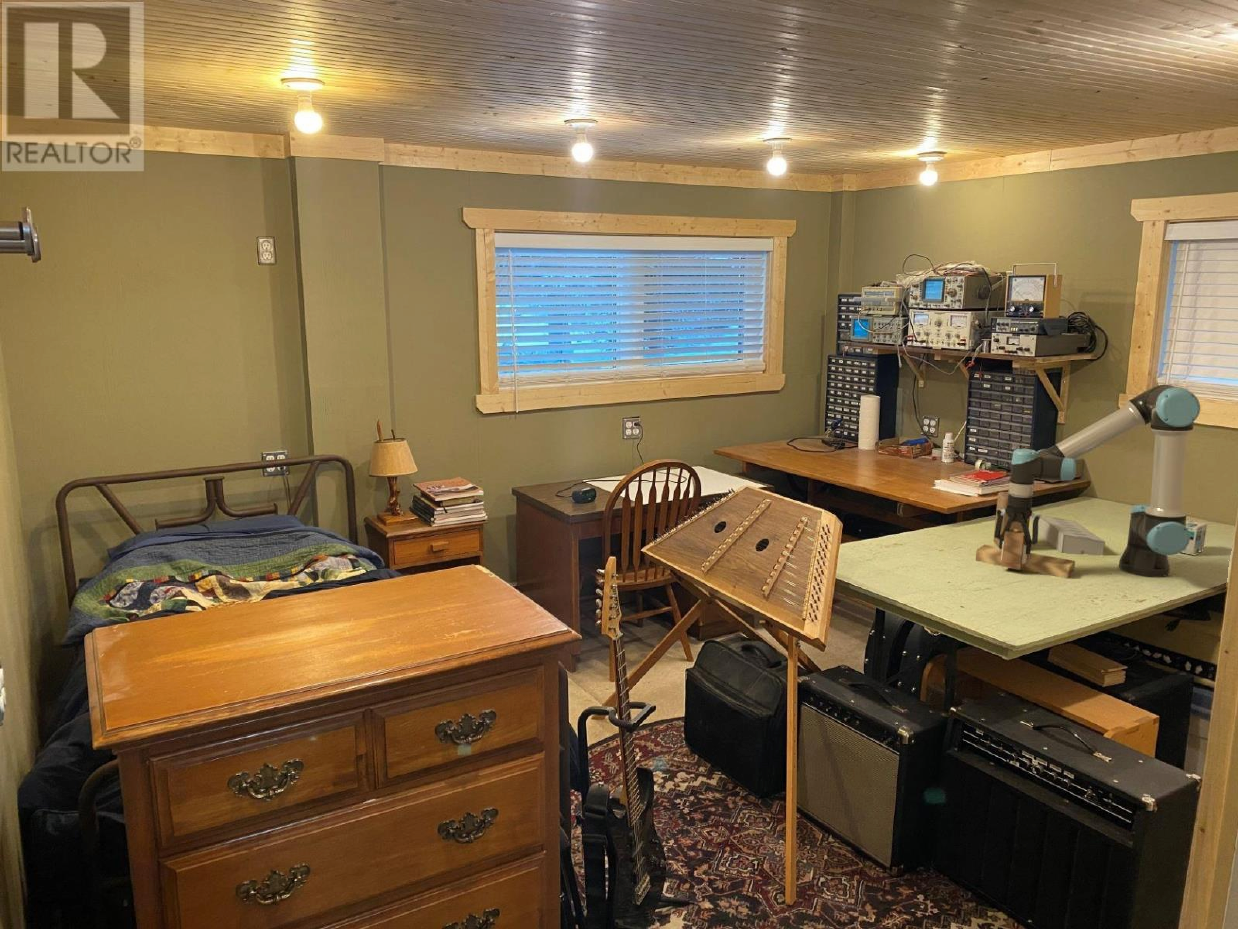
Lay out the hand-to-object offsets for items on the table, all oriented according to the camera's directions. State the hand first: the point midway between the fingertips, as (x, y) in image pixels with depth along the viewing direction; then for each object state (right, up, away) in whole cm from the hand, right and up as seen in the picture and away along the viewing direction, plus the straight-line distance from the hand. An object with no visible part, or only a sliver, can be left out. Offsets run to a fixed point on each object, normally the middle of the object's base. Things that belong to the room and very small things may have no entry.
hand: (1013, 560), depth 299 cm
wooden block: (+12, +2, +30) cm, 32 cm away
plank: (+6, -3, +6) cm, 9 cm away
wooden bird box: (+3, -1, +4) cm, 5 cm away
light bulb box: (+77, 0, +26) cm, 82 cm away
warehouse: (+37, +2, +36) cm, 51 cm away
